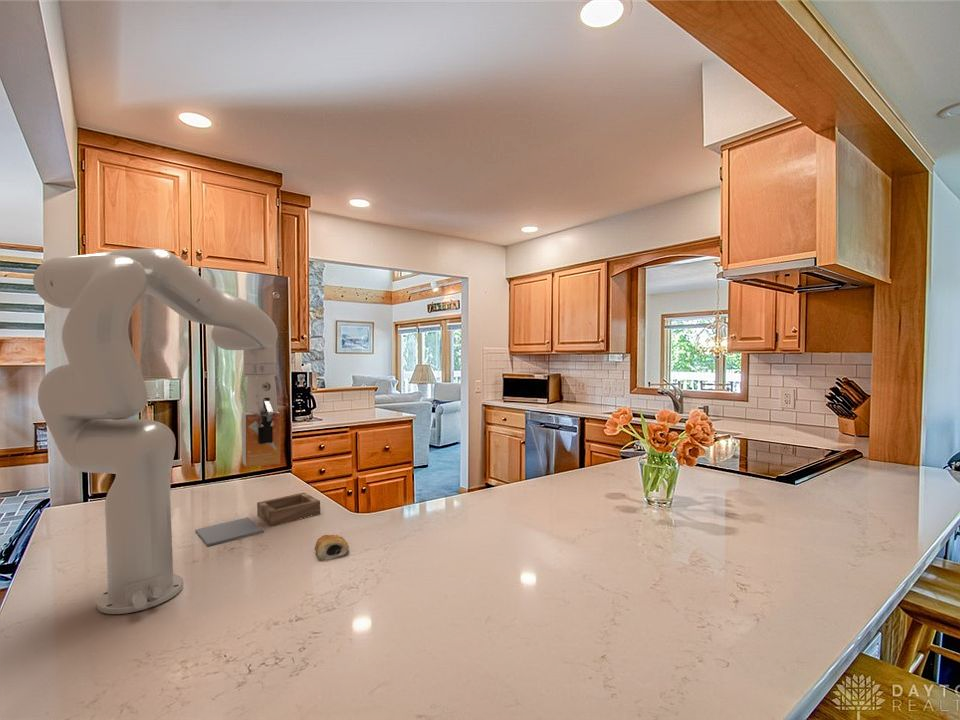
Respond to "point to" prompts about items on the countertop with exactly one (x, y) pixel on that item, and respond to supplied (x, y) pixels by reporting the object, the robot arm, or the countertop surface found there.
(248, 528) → the mat
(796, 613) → the countertop surface
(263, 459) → the small box
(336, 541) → the pastry
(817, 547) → the countertop surface
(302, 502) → the holder
